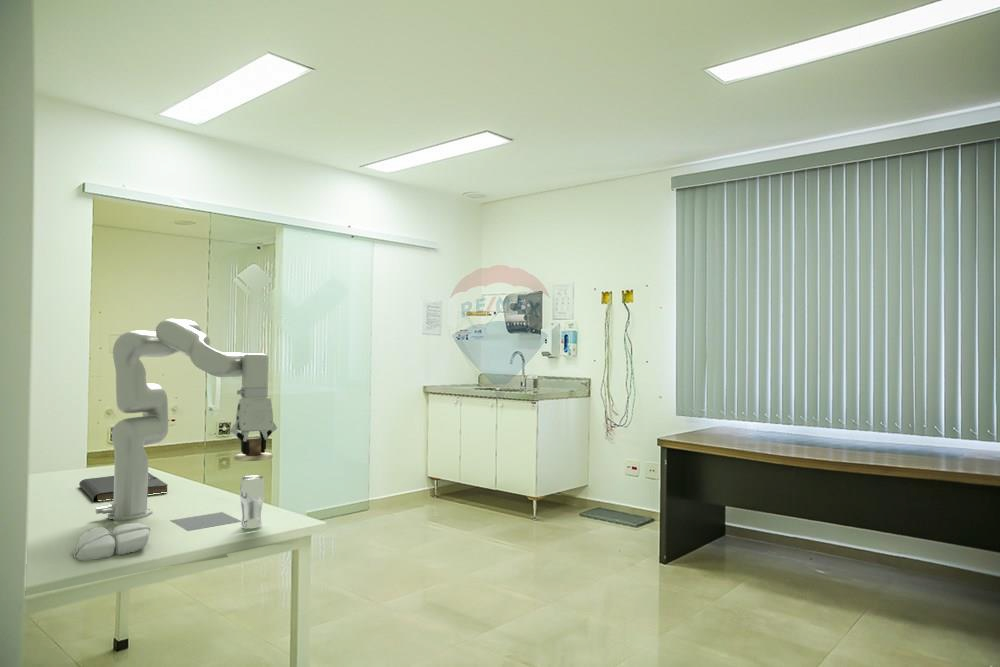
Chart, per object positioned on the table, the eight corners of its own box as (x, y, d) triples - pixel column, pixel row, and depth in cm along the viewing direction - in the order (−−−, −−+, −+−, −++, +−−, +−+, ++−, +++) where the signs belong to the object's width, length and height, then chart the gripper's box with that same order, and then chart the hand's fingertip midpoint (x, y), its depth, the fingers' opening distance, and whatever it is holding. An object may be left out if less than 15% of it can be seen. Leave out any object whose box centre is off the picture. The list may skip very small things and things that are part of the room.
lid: (243, 462, 187) (243, 441, 187) (228, 458, 195) (228, 438, 195) (278, 458, 195) (279, 438, 195) (262, 454, 203) (263, 435, 203)
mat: (188, 532, 188) (188, 530, 188) (169, 521, 199) (169, 520, 199) (241, 522, 199) (241, 521, 199) (221, 513, 211) (221, 512, 211)
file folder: (168, 483, 240) (93, 493, 224) (168, 494, 240) (93, 505, 224) (148, 471, 265) (79, 478, 249) (148, 481, 265) (79, 489, 249)
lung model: (75, 564, 159) (67, 549, 179) (153, 552, 170) (137, 540, 189) (77, 536, 160) (68, 524, 179) (154, 527, 171) (137, 517, 190)
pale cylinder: (243, 524, 197) (244, 475, 198) (266, 523, 198) (267, 475, 199) (235, 530, 191) (237, 479, 191) (259, 530, 191) (260, 479, 192)
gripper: (232, 395, 187) (230, 457, 186) (286, 393, 199) (285, 451, 198) (222, 394, 192) (220, 454, 192) (275, 392, 204) (274, 449, 204)
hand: (253, 452), depth 195 cm, fingers closed on lid, 4 cm apart
